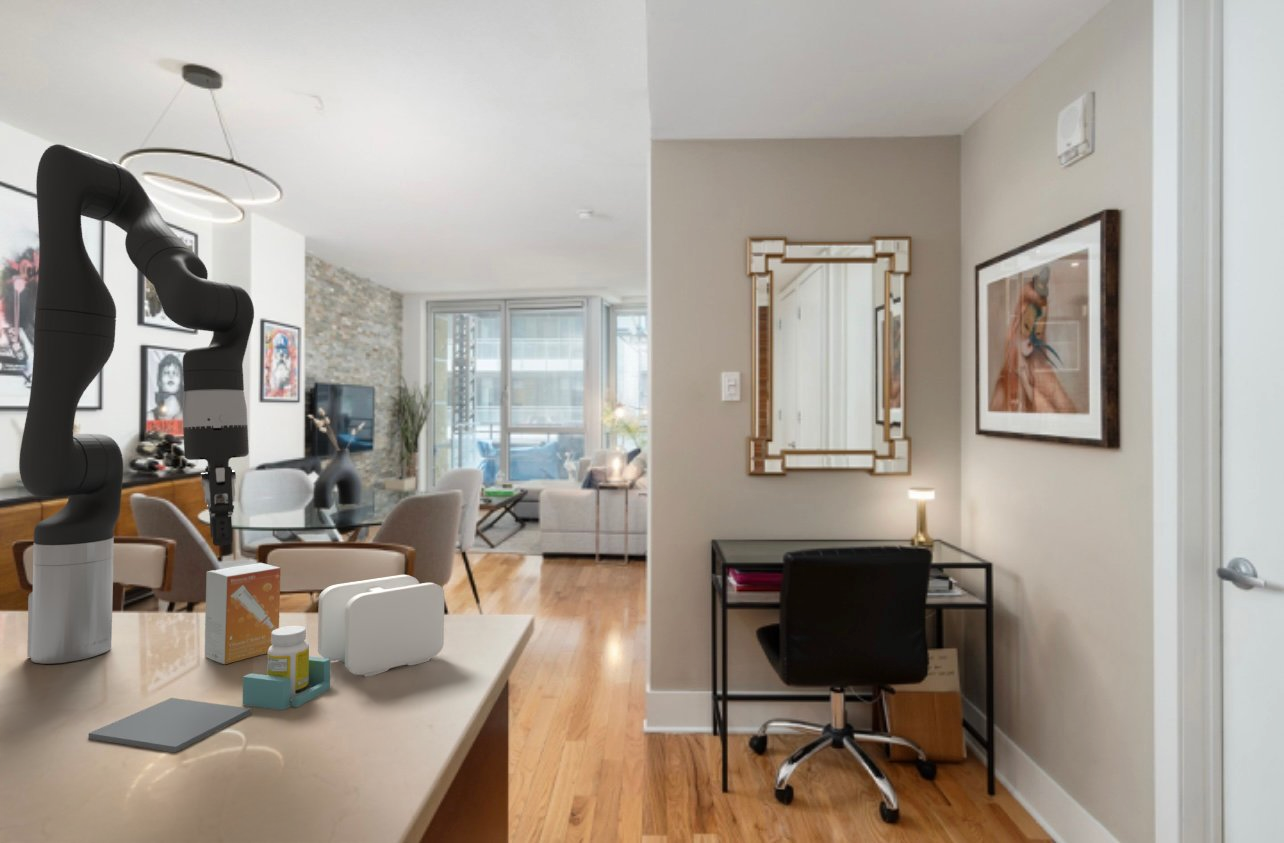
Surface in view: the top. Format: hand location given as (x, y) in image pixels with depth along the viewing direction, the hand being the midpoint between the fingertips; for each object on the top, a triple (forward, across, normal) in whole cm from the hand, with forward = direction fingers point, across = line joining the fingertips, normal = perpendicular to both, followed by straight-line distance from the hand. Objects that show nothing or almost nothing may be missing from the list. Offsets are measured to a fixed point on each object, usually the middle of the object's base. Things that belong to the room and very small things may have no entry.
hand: (221, 541), depth 92 cm
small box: (+19, -10, +2) cm, 22 cm away
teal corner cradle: (+20, +11, +6) cm, 23 cm away
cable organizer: (+20, +4, +19) cm, 28 cm away
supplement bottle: (+20, +11, +6) cm, 23 cm away
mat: (+19, +14, -6) cm, 24 cm away
